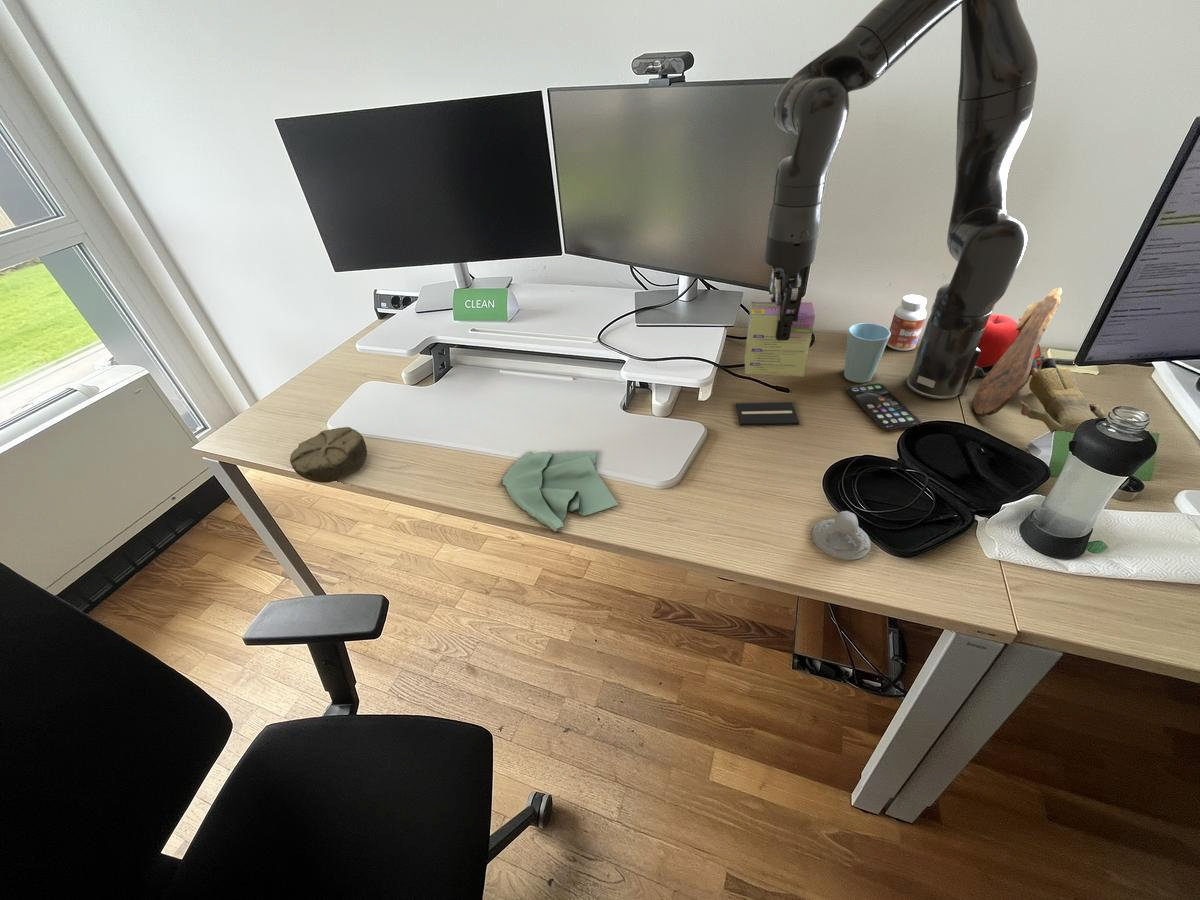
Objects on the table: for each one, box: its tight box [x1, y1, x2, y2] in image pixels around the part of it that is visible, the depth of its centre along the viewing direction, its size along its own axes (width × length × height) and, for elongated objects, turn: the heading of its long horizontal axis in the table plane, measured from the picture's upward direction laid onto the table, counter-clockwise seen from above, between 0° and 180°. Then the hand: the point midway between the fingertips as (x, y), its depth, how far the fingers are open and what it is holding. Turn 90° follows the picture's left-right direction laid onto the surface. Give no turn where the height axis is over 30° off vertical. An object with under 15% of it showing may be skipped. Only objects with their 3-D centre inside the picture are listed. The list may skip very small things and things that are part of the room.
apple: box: [975, 313, 1020, 368], centre depth 108 cm, size 10×10×11 cm
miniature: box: [811, 510, 872, 561], centre depth 76 cm, size 8×8×5 cm
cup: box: [843, 322, 891, 384], centre depth 108 cm, size 8×8×10 cm
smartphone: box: [846, 382, 922, 432], centre depth 102 cm, size 7×1×15 cm
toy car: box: [1018, 317, 1045, 366], centre depth 107 cm, size 12×5×3 cm
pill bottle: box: [886, 294, 928, 352], centre depth 117 cm, size 6×6×11 cm
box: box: [744, 301, 816, 377], centre depth 94 cm, size 10×6×12 cm, turn 79°
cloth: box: [501, 451, 619, 532], centre depth 91 cm, size 20×22×2 cm
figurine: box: [1019, 357, 1130, 490], centre depth 89 cm, size 11×9×30 cm
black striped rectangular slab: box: [735, 401, 800, 426], centre depth 103 cm, size 11×7×1 cm, turn 85°
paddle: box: [972, 287, 1063, 417], centre depth 99 cm, size 8×3×30 cm
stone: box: [289, 426, 368, 484], centre depth 100 cm, size 13×13×5 cm
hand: (778, 330), depth 92 cm, fingers closed on box, 6 cm apart
